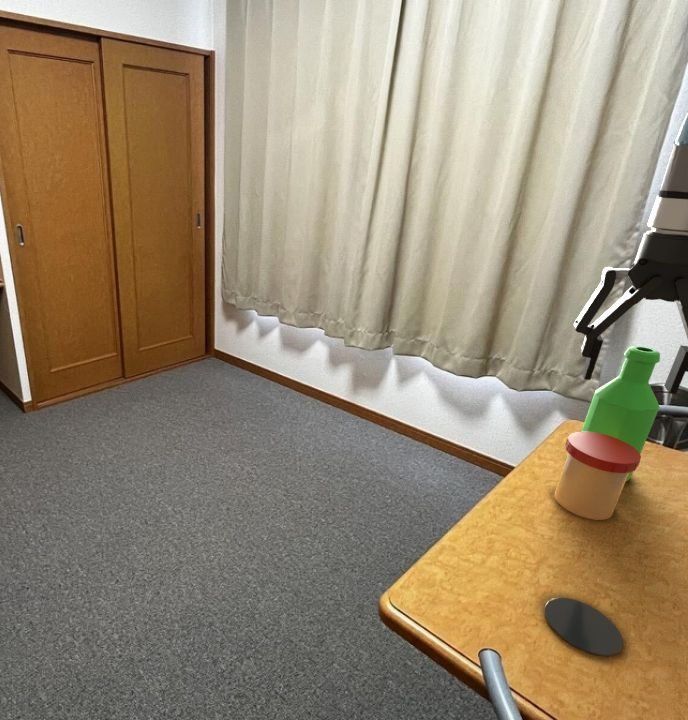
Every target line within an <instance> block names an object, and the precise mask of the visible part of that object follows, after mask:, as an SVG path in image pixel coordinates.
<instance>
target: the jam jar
mask: <svg viewBox="0 0 688 720" xmlns="http://www.w3.org/2000/svg"><path fill="white" fill-rule="evenodd" d="M628 474H629V473H613V472H607V471H603V470H599V469H596V468H593V467H590V466H588V465H586V464H583V463H581V462H580V461H578V460H576V459H575V458H573V457H572V456H571V455H570V454H569V453H568V452H567V455H566V458H565V461H564V465H563V467H562V470H561V474H560V476H559V478H558V482H557V485H556V488H555V491H554V494H553V496H554V499H555V501H556V503H558V504H559V505H560V506H561V507H562V508H564V509H565V510H567V511H568V512H570V513H572V514H574V515H576V516H578V517H579V516H580V517H582V518H586V519H589V520H597V521H602V520H603V521H604V520H608V519H610V518H612V516H613V514H614V512H615V510H616V509H615V508H616V506H617V503H618V502H619V499H620V496H621V494H622V491H623V490H624V487H625V484H626V482H627V481H626V479H627V477H628Z"/></svg>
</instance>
